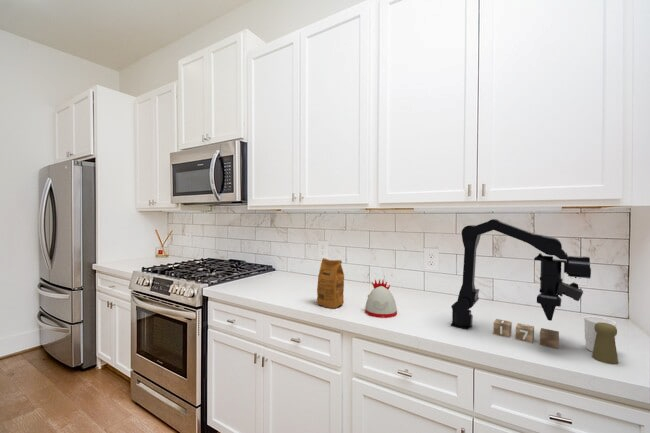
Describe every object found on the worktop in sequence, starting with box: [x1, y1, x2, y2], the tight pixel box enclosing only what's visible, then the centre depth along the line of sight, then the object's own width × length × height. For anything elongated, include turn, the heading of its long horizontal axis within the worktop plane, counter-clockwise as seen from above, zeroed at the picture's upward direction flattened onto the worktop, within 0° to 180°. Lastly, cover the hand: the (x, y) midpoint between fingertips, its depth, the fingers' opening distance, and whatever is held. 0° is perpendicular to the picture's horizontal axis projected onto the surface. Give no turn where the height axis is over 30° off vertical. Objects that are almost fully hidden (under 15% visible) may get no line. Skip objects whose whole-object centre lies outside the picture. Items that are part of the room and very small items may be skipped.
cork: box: [591, 322, 619, 365], centre depth 94 cm, size 6×6×11 cm
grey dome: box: [364, 278, 398, 319], centre depth 137 cm, size 14×14×15 cm
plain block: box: [539, 327, 560, 350], centre depth 105 cm, size 5×5×4 cm
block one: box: [493, 318, 513, 339], centre depth 114 cm, size 5×5×5 cm
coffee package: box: [316, 257, 345, 309], centre depth 147 cm, size 10×12×22 cm
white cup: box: [583, 315, 617, 353], centre depth 101 cm, size 8×8×10 cm
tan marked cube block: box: [514, 322, 535, 344], centre depth 109 cm, size 5×5×5 cm
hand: (549, 320), depth 105 cm, fingers closed
